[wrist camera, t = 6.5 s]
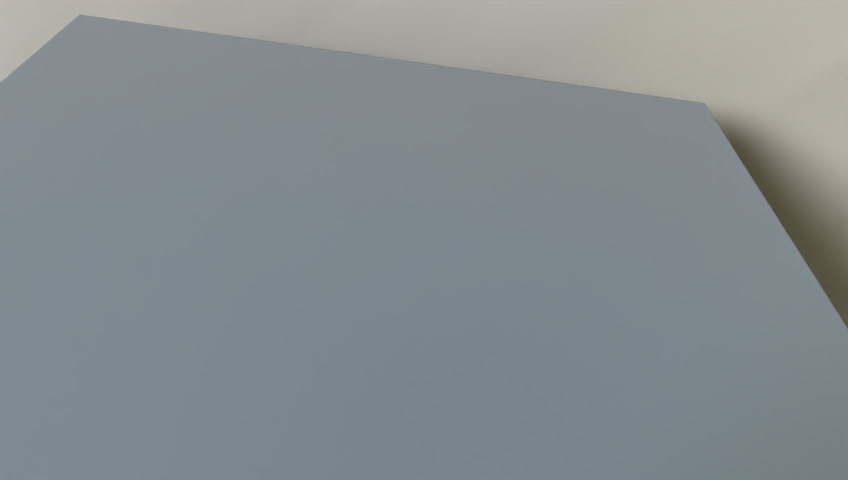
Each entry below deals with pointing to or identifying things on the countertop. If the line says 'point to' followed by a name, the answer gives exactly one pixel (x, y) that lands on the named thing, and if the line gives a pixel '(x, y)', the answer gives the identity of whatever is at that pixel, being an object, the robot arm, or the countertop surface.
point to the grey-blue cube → (389, 276)
